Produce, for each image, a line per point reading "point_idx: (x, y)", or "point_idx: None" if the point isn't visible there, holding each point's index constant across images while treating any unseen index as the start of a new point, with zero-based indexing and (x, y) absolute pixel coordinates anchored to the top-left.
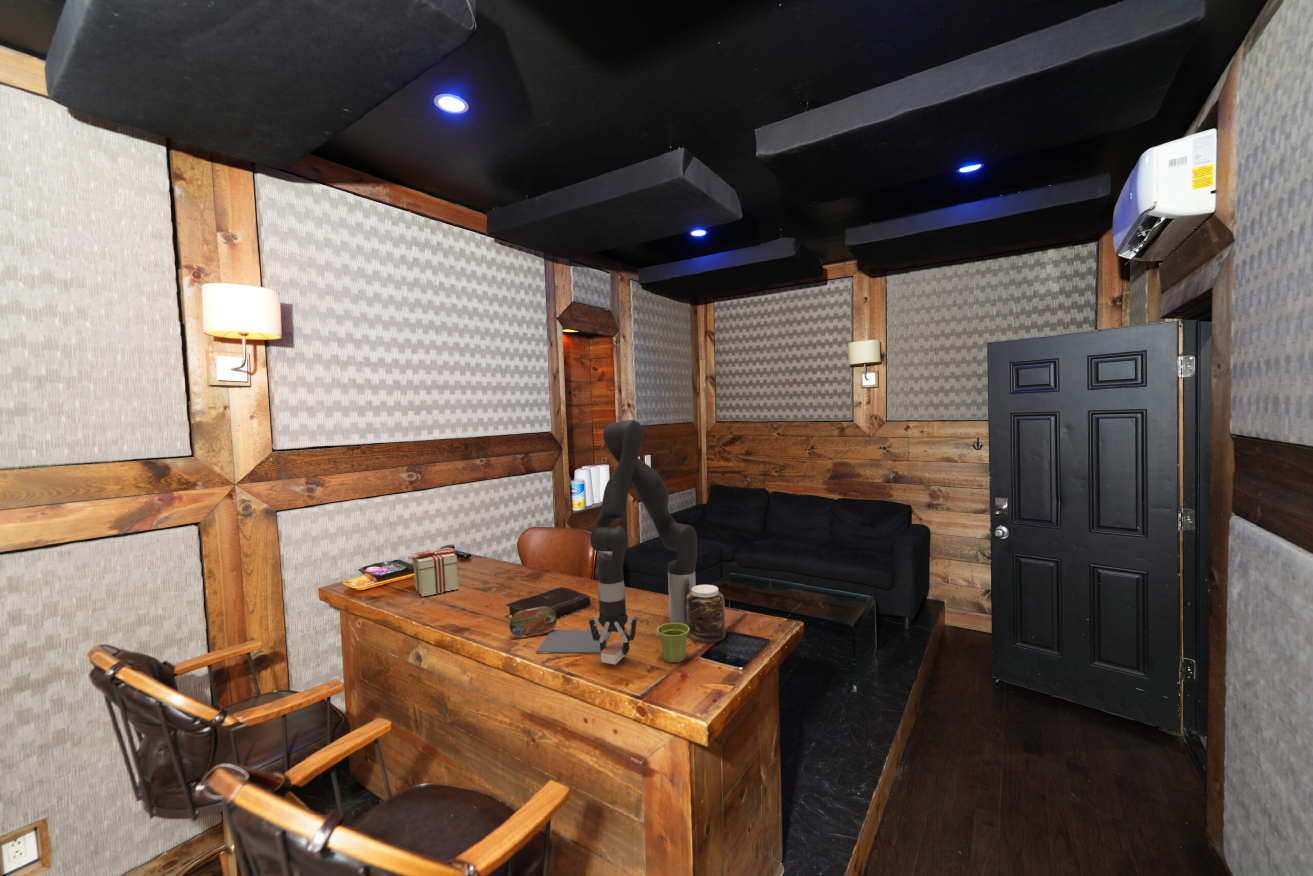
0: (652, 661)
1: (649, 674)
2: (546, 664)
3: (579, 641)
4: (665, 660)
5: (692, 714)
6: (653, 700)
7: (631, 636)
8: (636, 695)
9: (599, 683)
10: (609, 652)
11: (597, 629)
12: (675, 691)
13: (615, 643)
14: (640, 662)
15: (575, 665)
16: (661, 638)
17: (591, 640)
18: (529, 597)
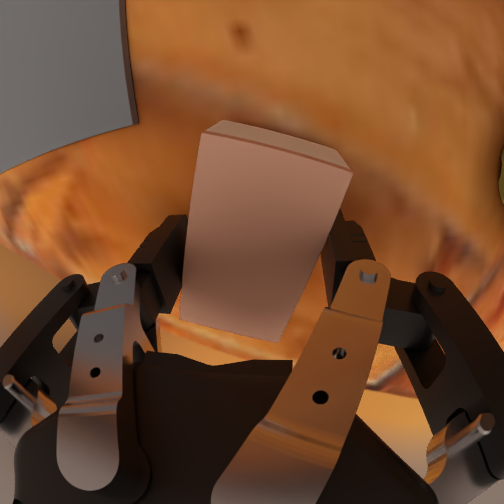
0: (454, 192)
1: None
2: (22, 249)
3: (12, 59)
4: (500, 196)
5: None
6: (403, 389)
7: (414, 359)
8: (367, 385)
9: (244, 354)
10: (238, 330)
11: (48, 327)
12: None
13: (235, 206)
14: (401, 202)
15: (91, 249)
16: None
17: (48, 21)
18: None
